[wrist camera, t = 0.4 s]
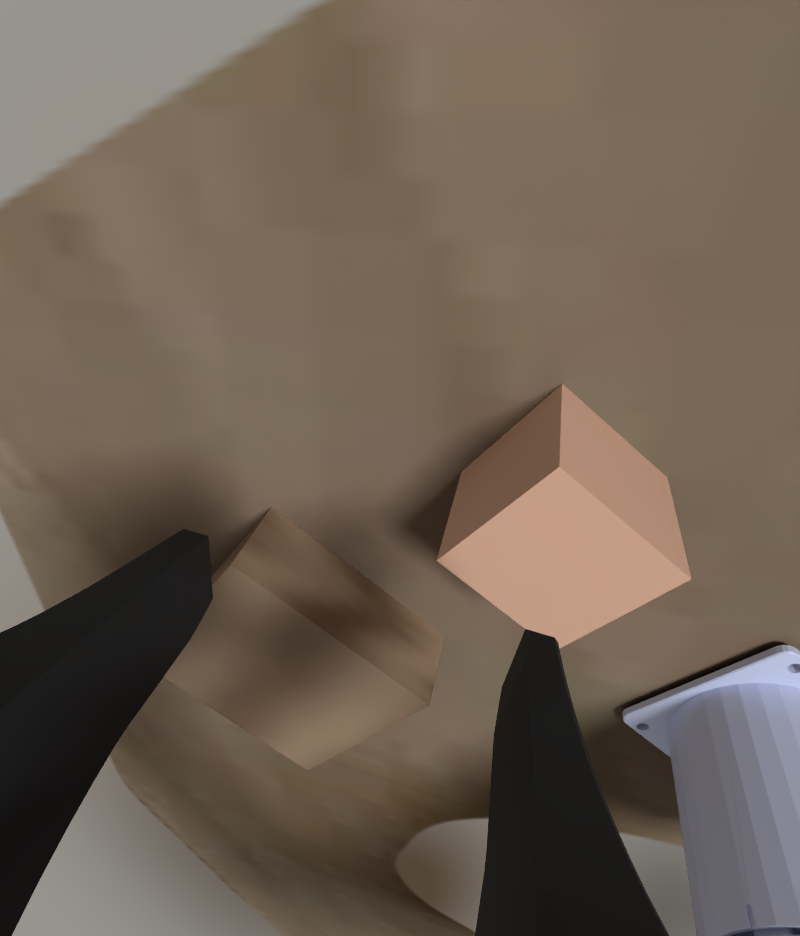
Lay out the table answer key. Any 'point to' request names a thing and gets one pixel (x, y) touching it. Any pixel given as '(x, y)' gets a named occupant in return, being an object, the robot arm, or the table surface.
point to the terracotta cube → (564, 523)
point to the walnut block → (305, 647)
